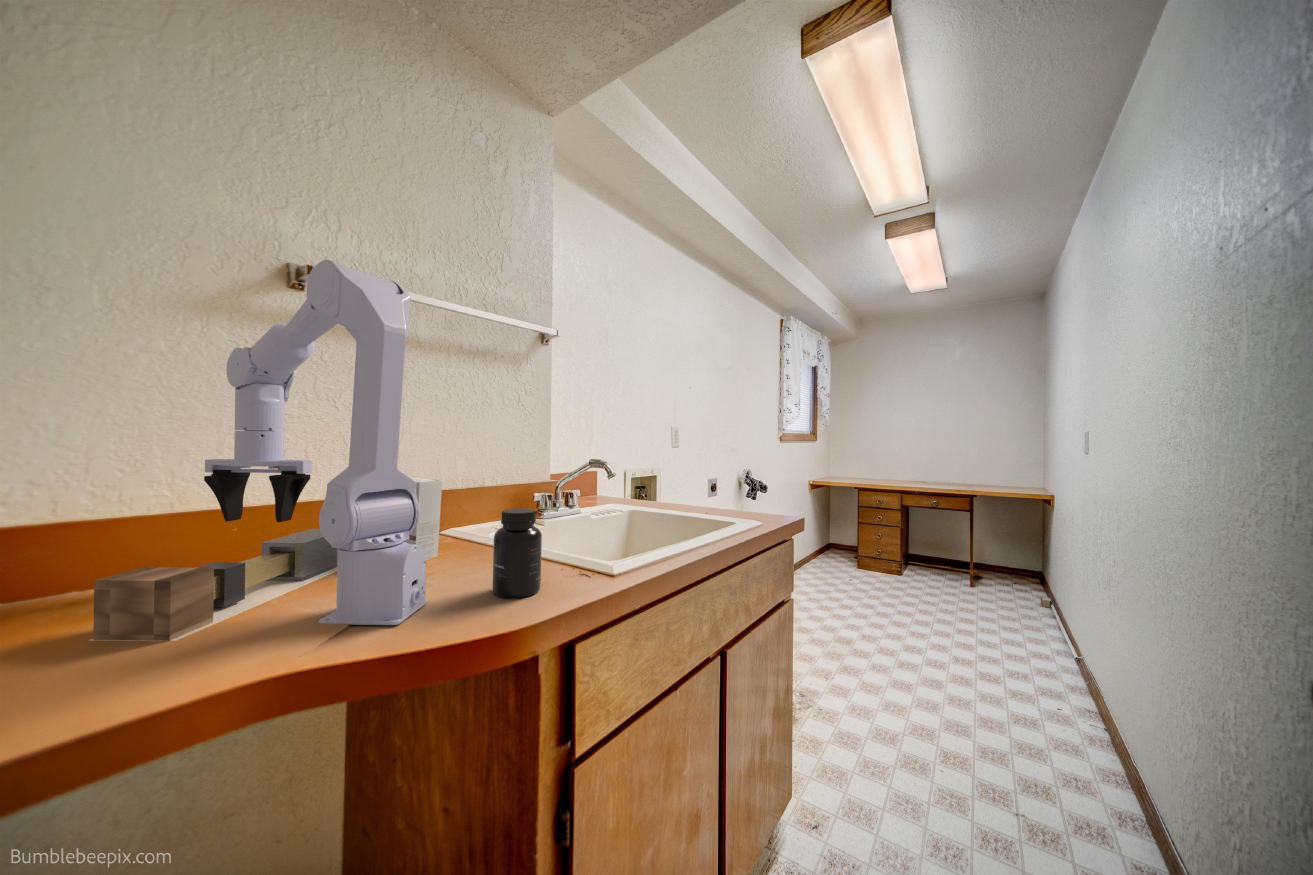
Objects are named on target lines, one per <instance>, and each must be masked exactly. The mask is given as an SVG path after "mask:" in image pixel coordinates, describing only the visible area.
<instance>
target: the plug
mask: <svg viewBox="0 0 1313 875" xmlns="http://www.w3.org/2000/svg"><path fill="white" fill-rule="evenodd" d="M196 568H214V603H213V607H226V606H229V605H231V604H234V603H236V602H239V601H241V600H244V599H245V588H247V587H249V586H252V585H255V584H257V583H260V582H263V581H265V580H268V579H271V578H273V577H276V576H279V575H281V574H284V573H287V572H289V571H292V570H295V551H274V552H271V553H268V554H265V555H261V554H260V555H258V556H256V557H251V558H249V559H245V560H242V561H239V562H227V561H226V562H223V561H220V562H217V561H214V562H211V563H208V564H203V565H201V566H197V567H196Z"/></svg>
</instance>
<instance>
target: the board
mask: <svg viewBox="0 0 1313 875" xmlns="http://www.w3.org/2000/svg"><path fill="white" fill-rule="evenodd" d="M335 572H336V573H337V567H336V568H334V569H331V570H329V571H326V572H324V573H322V574H319V575H317V576H314V577H312V578H310V579H307V580H305V581H263V582H260V583H257V584H255V585H252V586H249V587H247V588H245V599H244V600H241V601H239V602H236V603H234V604H231V605H229V606H226V607H213V622H212V623H210V624H208V625H205V626H203V627H201V628H198V629H196V630H194V631H191V632H189V633H187V634H184V635H182V636H180V637H177V638H175V639H173V640H170V641H169V642H177V641H178V640H181V639H182V638H185V637H188V636H190V635H193V634H195V633H197V632H199V631H201V630H205V629H206V628H208V627H211V626H213V625H216V624H217V623H220V622H222V621H225V620H227V619H230V618H231V617H234V616H236V615H238V614H241V613H244V612H245V611H249V610H250V609H252V608H255V607H258V606H260V605H262V604H264V603H267V602H268V601H271V600H274V599H275V598H278V597H280V596H282V595H284V594H287V593H289V592H292V591H294V590H296V589H299V588H301V587H304V586H305V585H308V584H311V583H313V582H315V581H317V580H320V579H322V578H324V577H326V576H330V575H331V574H333V573H335ZM88 641H89V642H90V641H91V642H92V641H94V642H95V641H96V642H98V641H99V642H101V641H102V642H105V641H106V642H108V641H109V642H110V641H112V642H114V641H115V642H122V641H123V642H124V641H125V642H144V641H143V640H93V638H91V639H88Z"/></svg>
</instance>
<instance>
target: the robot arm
mask: <svg viewBox="0 0 1313 875" xmlns="http://www.w3.org/2000/svg"><path fill="white" fill-rule="evenodd" d="M411 298H412V297H411V295H410V294H409V293H408V292H407V290H406V289H405V288H404V287H403V286H402V285H401V283H399V282H397V281H394V280H387V279H385V278H381V277H379V276H377V275H376V276H375V275H372V274H369V273H366V272H363V271H361V270H357V269H356V268H355V269H354V268H351V267H349V266H345V265H342V264H339V263H337V262H336V261H334V260H330V259H324V260H321V261H319V262H318V263H317V264H315V265H314V266H313V267H312V269H311V271H310V272H309V275H308V278H307V283H306V300H305V301H304V302H303V303H302V304H301V306H300V307H299V308H298V310H297V311H296V313H295V314H294V316H292V317H291V319H290V320H289V322H288V323H285V322H284V323H283V322H282V323H276V324H274V325H273V326H271V327H270V328H269V329H268V330H267V331H266V332H265V333H264V334H263V335H262V336H261V337H260V338H259V339H258V340H257V341H256V342H255V343H254V344H253V345H252V346H251V347H247V346H245V347H235V348H233V350H232V351H231V352H230V354H229V356H228V358H227V362H226V377H227V378H226V379H227V381H228V383H229V384H230V386H231V387H233V388H234V392H235V393H234V449H233V452H234V454H233V455H234V458H231V459H229V458H215V459H214V458H212V459H210V458H209V459H205V460H204V473H211V475H204V478H203V480H204V482H205V483H206V484H207V486H208V487H209V488H210V490H211V491H212V493H213V495H214V496H215V497H216V499H217V500H216V501H217V502H218V505H219V508H220V510H221V512H222V517H223V519H224V522H233V521H239V520H241V519H242V517H243V510H244V495H245V491H246V487H247V484H248V481H249V478H250V476H251V474H252V473H253V474H254V473H255V474H259V473H262V474H263V473H264V474H274V475H269V476H268V479H269V481H270V484H271V487H272V491H273V495H274V507H275V508H274V514H275V520H276V522H277V523H284V522H289V521H291V520H292V519H293V515H294V511H295V508H296V505H297V503H298V500H299V498H300V495H301V494H302V492H303V490H304V489H305V487H306V485H307V484H308V482H310V480H311V474H312V473H313V460H311V459H310V460H308V459H307V460H304V459H285V458H284V456H285V454H284V453H285V452H284V451H285V450H284V449H285V403H286V402H288V401H289V399H290V388H291V387H292V385H293V381H294V377H295V371H296V370H297V369H298V368H300V367H301V365H302V364H304V363H305V362H306V361H307V360H308V359H310V357H312V355H313V354H314V353H315V348H316V347H315V344H314V342H315V341H317V340H318V339H319V338H321V337H322V336H323V335H324V334H326V333H328V332H329V331H330V330H331V329H334V327H336V326H338V325H340V326H342V327H344V329H345V330H346V331H347V332H348V333H349V334H350V336H352V337H353V339H354V340H355V343H356V345H355V361H354V377H353V378H354V379H353V390H352V392H353V393H352V395H353V396H352V411H351V422H350V423H351V426H350V440H349V441H350V442H349V455H348V456H349V458H348V466H347V467H346V468H345V469H344V470H342V471H341V472H339V474H337V475H336V476H334V477H333V478H332V479H331V480H330V481H329V482H327V484H326V494H325V498H324V501H323V504H322V505H321V508H320V510H319V514H318V524H319V525H318V526H319V529H320V530H321V533H322V535H323V537H324V538H325V540H326V541H327V542H328V543H329V544H330V545H331V547H333V548H337V571H336V607H335V609H336V610H335V611H333V612H331V613H329V614H327V615H326V616H324V617H322V618H321V619H318V624H328V625H329V624H331V625H332V624H341V625H342V624H344V625H345V624H346V625H347V624H349V625H351V626H356V625H357V626H397V625H400V624H401V623H402V622H404V621H405V620H406V619H408V618H409V617H411V616H412V615H413V614H414V613H416V612H418V610H420V609H421V608H422V607H424V606H425V605H426V604H428V602H429V600H428V598H426V578H427V577H426V574H427V569H426V566H427V562H426V561H427V560H426V557H425V552H424V550H423V548H422V547H421V546H419V545H413V544H408V543H406V542H404V541H405V540H409V533H410V532H412V531H413V530H414V529H415V527H416V525H417V523H418V520H419V515H420V508H419V503H418V501H417V496H416V482H415V481H414V480H413V479H412V478H413V477H412V478H411V476H409V475H408V474H407V473H405V472H404V471H403V470H402V469H400V468H399V467H398V464H399V463H398V461H399V450H400V448H399V446H400V435H401V434H400V433H401V432H400V431H401V430H400V429H401V418H402V417H401V415H402V402H403V401H402V400H403V388H404V387H403V385H404V371H405V356H406V339H408V337H409V325H410V314H411V313H410V312H411ZM252 467H255V468H252ZM256 467H261V468H256ZM262 467H268V468H267V469H266V468H262ZM384 490H385V491H384Z"/></svg>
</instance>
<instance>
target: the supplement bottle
mask: <svg viewBox="0 0 1313 875" xmlns="http://www.w3.org/2000/svg"><path fill="white" fill-rule="evenodd" d="M536 522H537V519H536V510H535V509H533V508H525V507H523V508H522V507H520V508H519V507H518V508H517V507H516V508H515V507H514V508H506V509H504V510H502V511H501V520H500V524H501V525H502V527H501V528H499V529H497V530H496V532H495V533H494V534H493V551H492V552H493V554H492V593H493V594H494V595H495V596H496V597H498V598H501V599H507V598H517V599H522V598H521V597H524V598H527V597H526V596H529V597H531V596H530V595H532V596H534V595H536V594H537V593H538V592H539V591H540V589H541V581H542V550H543V549H542V546H543V545H542V544H543V542H542V541H543V535H542V531H541V530H540V529H539V528H538V527H536V526H535V524H536ZM535 593H536V594H535ZM533 594H534V595H533Z"/></svg>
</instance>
